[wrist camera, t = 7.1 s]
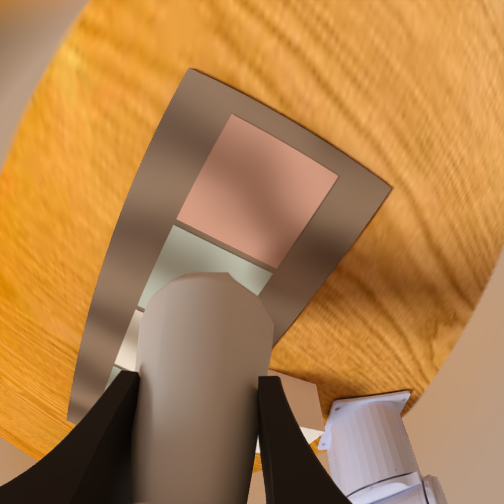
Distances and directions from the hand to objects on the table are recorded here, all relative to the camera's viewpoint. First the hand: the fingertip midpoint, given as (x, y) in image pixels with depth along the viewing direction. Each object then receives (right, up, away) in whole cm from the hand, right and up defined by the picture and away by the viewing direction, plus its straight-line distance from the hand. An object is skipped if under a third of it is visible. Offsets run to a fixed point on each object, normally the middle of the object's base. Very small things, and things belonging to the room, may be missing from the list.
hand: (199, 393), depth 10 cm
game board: (-5, -3, +13) cm, 14 cm away
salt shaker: (0, +2, +6) cm, 6 cm away
